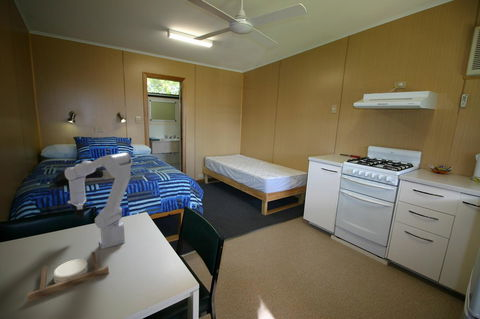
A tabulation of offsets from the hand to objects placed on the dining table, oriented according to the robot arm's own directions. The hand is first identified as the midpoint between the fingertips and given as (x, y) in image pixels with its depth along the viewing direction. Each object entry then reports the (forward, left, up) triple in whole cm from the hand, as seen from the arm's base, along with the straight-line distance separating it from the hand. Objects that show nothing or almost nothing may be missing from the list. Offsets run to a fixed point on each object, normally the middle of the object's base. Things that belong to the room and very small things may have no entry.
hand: (80, 218), depth 103 cm
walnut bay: (+5, +29, -9) cm, 30 cm away
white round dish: (+5, +29, -10) cm, 31 cm away
